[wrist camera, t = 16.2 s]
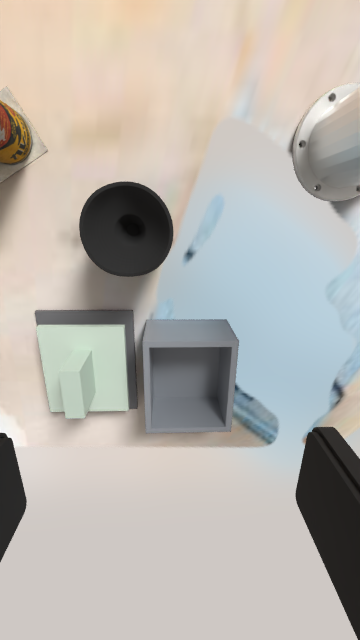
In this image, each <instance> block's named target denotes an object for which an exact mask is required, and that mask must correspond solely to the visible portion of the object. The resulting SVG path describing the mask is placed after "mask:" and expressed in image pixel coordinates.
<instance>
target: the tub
mask: <svg viewBox="0 0 360 640" xmlns="http://www.w3.org/2000/svg"><path fill="white" fill-rule="evenodd" d="M238 346H239V340H238V339H237V337H236V335H235V334H234V332H233V330H232V328H231V327H230V325H229V323H228V321H227V320H147V322H146V327H145V332H144V337H143V370H144V398H145V426H146V433H183V432H231V424H232V413H233V401H234V390H235V378H236V367H237V356H238Z"/></svg>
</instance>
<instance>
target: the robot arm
mask: <svg viewBox="0 0 360 640" xmlns="http://www.w3.org/2000/svg"><path fill="white" fill-rule="evenodd" d="M328 98H329V99H330V101H329V100H328ZM299 144H301V148H300V147H299ZM293 164H294V170H295V173H296V175H297V178H298V180H299V182H300V183H301V185H302V186H303V187H304V188H305V190H306V191H308V193H310V194H311V195H313V196H314V197H316V198H319V199H321V200H325V201H343V200H348V199H352V198H354V197H357V196H359V195H360V83H347V84H344V85H341V86H337V87H335V88H334V89H332V90H330V91H328V92H327V93H325V94H324V95H323V96H321V97H320V98H319V99H318V100H317V101H316V102H315V103H314V104H313V105H312V106H311V107H310V108H309V109H308V111H307V112H306V113H305V115H304V116H303V118H302V120H301V122H300V124H299V126H298V128H297V131H296V134H295V137H294V143H293ZM314 187H316V190H314ZM356 188H357V190H356ZM296 501H297V504H298V507H299V509H300V511H301V513H302V516H303V518H304V520H305V523H306V525H307V527H308V529H309V532H310V534H311V536H312V538H313V540H314V543H315V545H316V547H317V549H318V552H319V554H320V556H321V558H322V561H323V563H324V565H325V567H326V569H327V572H328V574H329V576H330V578H331V581H332V583H333V585H334V587H335V589H336V592H337V594H338V596H339V598H340V600H341V603H342V605H343V607H344V610H345V612H346V614H347V616H348V618H349V621H350V623H351V625H352V627H353V629H354V632H355V634H356V636H357V638H358V640H360V459H359V458H358V456H357V455H356V454H355V453H354V451H353V450H352V449H351V447H350V446H349V445H348V444H347V442H346V441H345V440H344V439H343V437H342V436H341V435H340V433H339V432H338V431H337V430H336V429H335V428H333V427H315V428H313V430H312V432H309V433H308V435H307V439H306V444H305V449H304V454H303V459H302V464H301V469H300V474H299V479H298V483H297V488H296ZM25 509H26V496H25V492H24V487H23V483H22V479H21V475H20V471H19V466H18V462H17V458H16V454H15V450H14V445H13V441H12V439H11V438H8V437H7V435H6V434H5V433H0V562H1V560H2V557H3V555H4V553H5V551H6V549H7V547H8V545H9V543H10V541H11V539H12V537H13V535H14V533H15V531H16V529H17V527H18V525H19V522H20V520H21V519H22V516H23V514H24V512H25Z"/></svg>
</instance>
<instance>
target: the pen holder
mask: <svg viewBox="0 0 360 640" xmlns="http://www.w3.org/2000/svg"><path fill="white" fill-rule="evenodd" d="M79 228H80V237H81V241H82V244H83V246H84V249H85V251H86V252H87V254H88V256H89V257H90V258H91V260H92V261H93V262H94V263H95V264H96V265H97V266H98V267H100V268H101V269H103V270H104V271H106V272H108V273H110V274H114V275H117V276H128V277H129V276H139V275H144V274H147V273H149V272H151V271H153V270H155V269H156V268H157V267H159V266H160V265H161V264H162V262H163V261H164V260H165V258H166V257H167V255H168V253H169V251H170V248H171V245H172V241H173V224H172V219H171V216H170V213H169V211H168V209H167V207H166V205H165V203H164V202H163V201H162V199H161V198H160V197H159V196H158V195H157V194H156V193H155V192H154V191H152V190H151V189H149V188H148V187H146V186H144V185H141V184H139V183H134V182H116V183H112V184H108V185H106V186H103V187H101V188H100V189H98V190H96V191H95V192H94V193H93V194H92V195H91V196H90V197H89V198H88V200H87V201H86V203H85V205H84V207H83V209H82V212H81V216H80V223H79Z"/></svg>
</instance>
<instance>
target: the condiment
mask: <svg viewBox="0 0 360 640" xmlns="http://www.w3.org/2000/svg"><path fill="white" fill-rule="evenodd" d="M46 151H47V148H46V146H45V145H44V143H43V142H42V140H41V138H40V137H39V135H38V134H37V132H36V131H35V129H34V127H33V126H32V124H31V123H30V121H29V120H28V118H27V116H26V115H25V113H24V112H23V110H22V109H21V107H20V106H19V104H18V102H17V101H16V100H15V98H14V96H13V95H12V93H11V92H10V90H9V89H8V87H7V86H6V87H5V88H3V89H2V90H1V91H0V183H1V182H3V181H4V180H5V179H7V178H8V177H10V176H11V175H12V174H14V173H16V172H17V171H19V170H20V169H22V168H23V167H25V166H26V165H28V164H29V163H31V162H32V161H34V160H35V159H37V158H38V157H39V156H41V155H42V154H44V153H45V152H46Z"/></svg>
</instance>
